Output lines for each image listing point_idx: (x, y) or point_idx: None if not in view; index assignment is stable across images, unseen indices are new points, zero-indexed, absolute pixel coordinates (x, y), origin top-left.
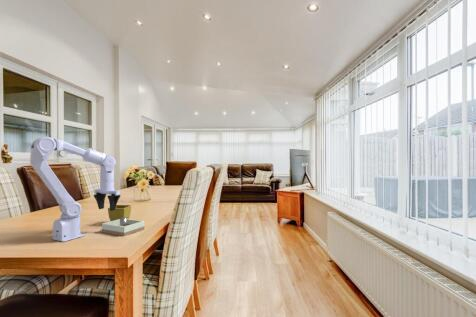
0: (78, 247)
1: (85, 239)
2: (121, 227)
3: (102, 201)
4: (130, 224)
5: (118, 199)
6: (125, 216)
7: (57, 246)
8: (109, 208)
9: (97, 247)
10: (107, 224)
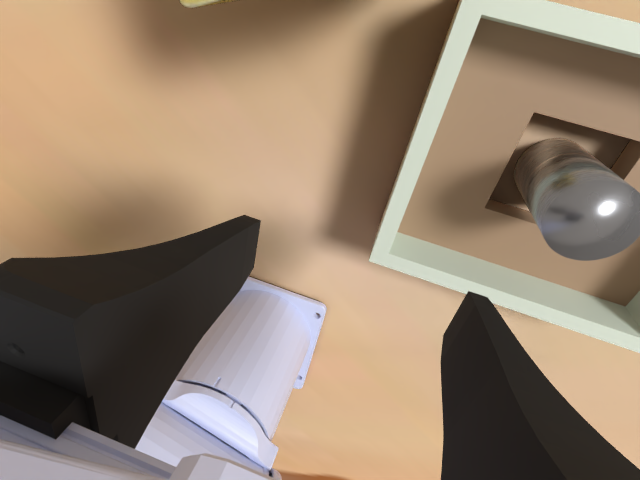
0: (425, 443)
1: (375, 354)
2: (613, 340)
3: (200, 289)
4: (605, 48)
5: (607, 447)
6: None
7: (324, 423)
8: (212, 3)
9: None
10: (436, 283)
